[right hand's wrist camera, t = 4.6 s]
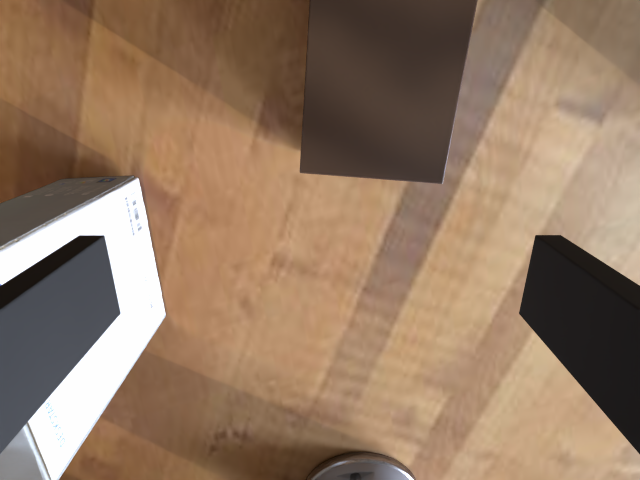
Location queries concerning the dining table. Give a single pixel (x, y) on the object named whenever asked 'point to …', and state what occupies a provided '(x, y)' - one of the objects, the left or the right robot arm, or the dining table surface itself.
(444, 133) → the cabinet
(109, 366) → the hard drive box
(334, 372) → the dining table surface
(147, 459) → the dining table surface
